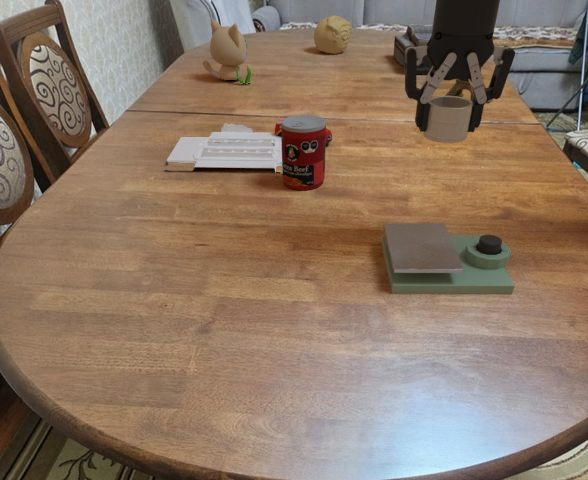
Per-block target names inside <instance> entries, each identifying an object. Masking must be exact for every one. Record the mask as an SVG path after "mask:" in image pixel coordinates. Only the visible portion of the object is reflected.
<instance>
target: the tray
mask: <svg viewBox="0 0 588 480" xmlns="http://www.w3.org/2000/svg"><path fill="white" fill-rule="evenodd" d="M220 130H221V131H220ZM220 130H218V131H211V132H210V135H208V136H209V137H185V136H181V137H180V138H179V140H178V141H177V143H176V144H175V146H174V148H172V151H171V153H170V154H169V156H168V157H167V159H166V163H167V162H179V163H194V164H195V166H194V168H195V169H196V168H230V169H231V168H232V169H233V168H234V169H237V168H238V169H239V168H240V169H243V168H244V169H274V173H276V167H277V166H282V142H281V137H278V136H277V135H275V132H267V131H266V132H265V131H264V132H263V131H261V132H260V131H259V132H256V131H255V132H254V131H253V128H252V127H248V126H246V125H243V124H238V123H236V124H235V123H234V122H231V123H228V122H225V123H223V125H222V126H221V127H220Z"/></svg>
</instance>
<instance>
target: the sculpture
mask: <svg viewBox="0 0 588 480" xmlns="http://www.w3.org/2000/svg"><path fill="white" fill-rule="evenodd" d="M313 32H314V33H313V39H314V40H313V42H314V46H315V48H316V49H317V50H318V51H320V52H322V53H325V54H332V55H337V54H341V53H343V52H344V51H345V50H346V49H347V48H348V43H349V40H350V37H351V34H352V23H351V22H350V21H348V20H347V19H345V18H343V17H342V16H339V15H336V14H335V15H334V14H333V15H331V16H327V17H324V18H323V19H321V20H320V21H319V22H318V23H317V25H316V27H315V29H314V31H313Z"/></svg>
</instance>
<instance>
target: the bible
mask: <svg viewBox="0 0 588 480" xmlns="http://www.w3.org/2000/svg"><path fill="white" fill-rule="evenodd" d="M406 26H407V28H406V31H405V33H404V34H397V35H394V41H393V58H394V59H396V60H395V61H396V62H397V63H399V65H401V66H402V68H403V70H404V71H405V48H406V47H407V46H408V45H411V46H413V47H419V46H425V45H427V43H428V42H429V40H430V38H431V35H432V29H433V25H415V24H408V25H406ZM432 66H433V65H432V63H431V61H430V59H429V58H428V56H427V55H425V56H424V57H423V59H422V63H421V64H420V65H419V66H417V75H424V76H425V75H426V76H427V75H428V73H429V71H430V70H431V68H432ZM434 73H435V72H434Z"/></svg>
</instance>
